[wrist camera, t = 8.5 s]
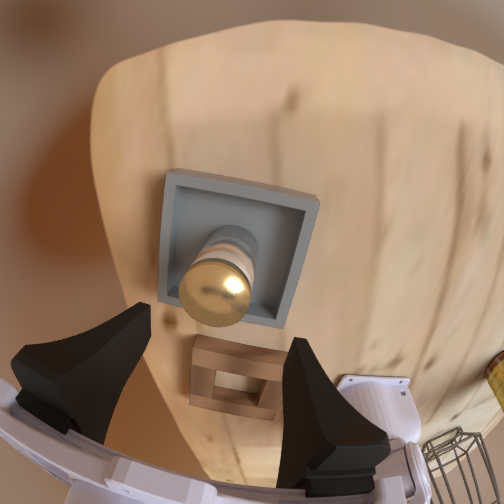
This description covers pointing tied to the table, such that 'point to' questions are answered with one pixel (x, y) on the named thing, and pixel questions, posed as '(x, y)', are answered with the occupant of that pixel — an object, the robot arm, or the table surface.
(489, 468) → the geometric lantern
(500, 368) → the sauce bottle
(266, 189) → the tray
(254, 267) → the gold and silver cylinder
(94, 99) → the table surface
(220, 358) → the block
